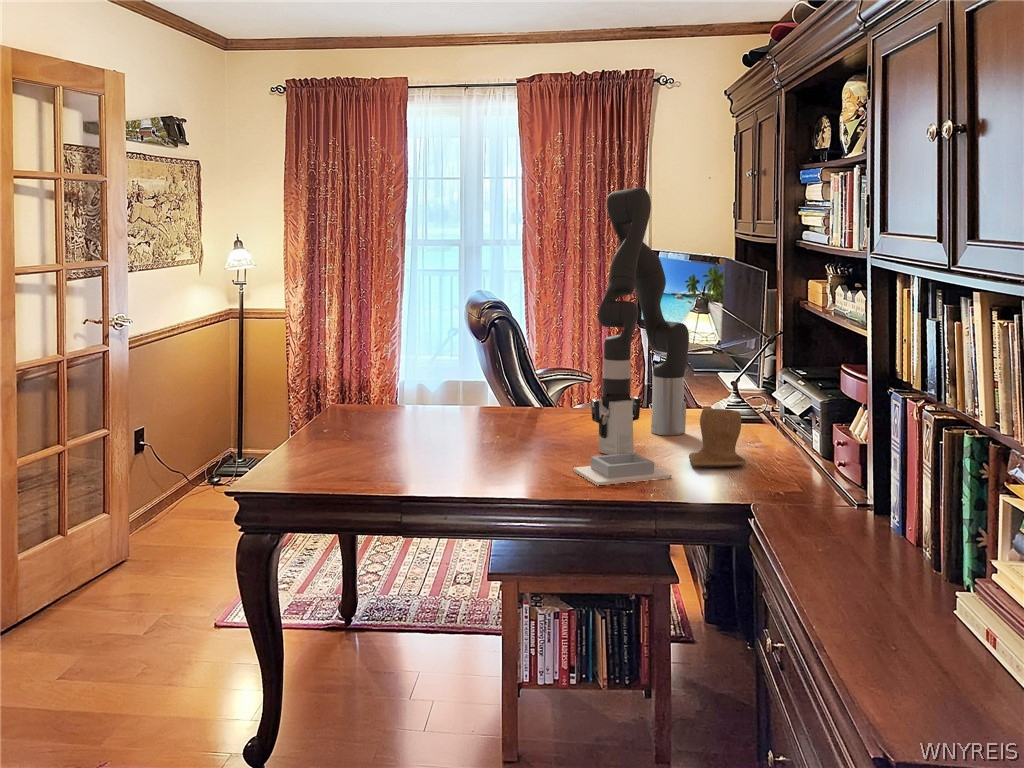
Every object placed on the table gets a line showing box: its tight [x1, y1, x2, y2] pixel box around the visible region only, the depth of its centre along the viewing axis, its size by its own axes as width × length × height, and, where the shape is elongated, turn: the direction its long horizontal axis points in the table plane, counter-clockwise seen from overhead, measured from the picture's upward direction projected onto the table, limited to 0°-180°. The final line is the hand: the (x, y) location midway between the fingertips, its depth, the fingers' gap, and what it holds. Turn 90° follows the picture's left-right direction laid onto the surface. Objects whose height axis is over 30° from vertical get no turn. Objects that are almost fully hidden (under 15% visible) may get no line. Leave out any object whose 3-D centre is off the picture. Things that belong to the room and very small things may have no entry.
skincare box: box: [598, 400, 634, 455], centre depth 241 cm, size 8×6×15 cm
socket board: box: [572, 452, 673, 487], centre depth 220 cm, size 20×14×4 cm
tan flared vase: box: [688, 407, 747, 468], centre depth 229 cm, size 15×12×15 cm
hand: (615, 436), depth 241 cm, fingers closed on skincare box, 6 cm apart
